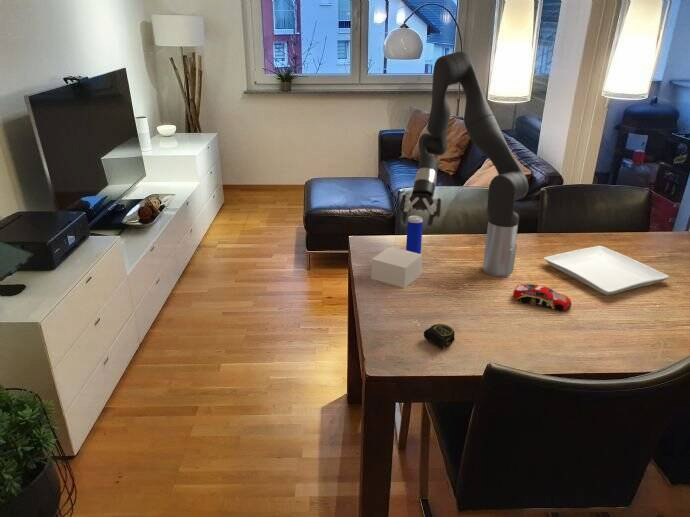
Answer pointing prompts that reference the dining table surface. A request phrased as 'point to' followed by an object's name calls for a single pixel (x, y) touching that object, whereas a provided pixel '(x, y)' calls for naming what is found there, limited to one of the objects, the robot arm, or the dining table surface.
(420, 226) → the beverage can
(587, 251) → the square plate
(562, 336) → the dining table surface
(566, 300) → the race car
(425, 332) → the tape measure
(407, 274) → the plain grey cuboid
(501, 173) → the robot arm
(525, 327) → the dining table surface
